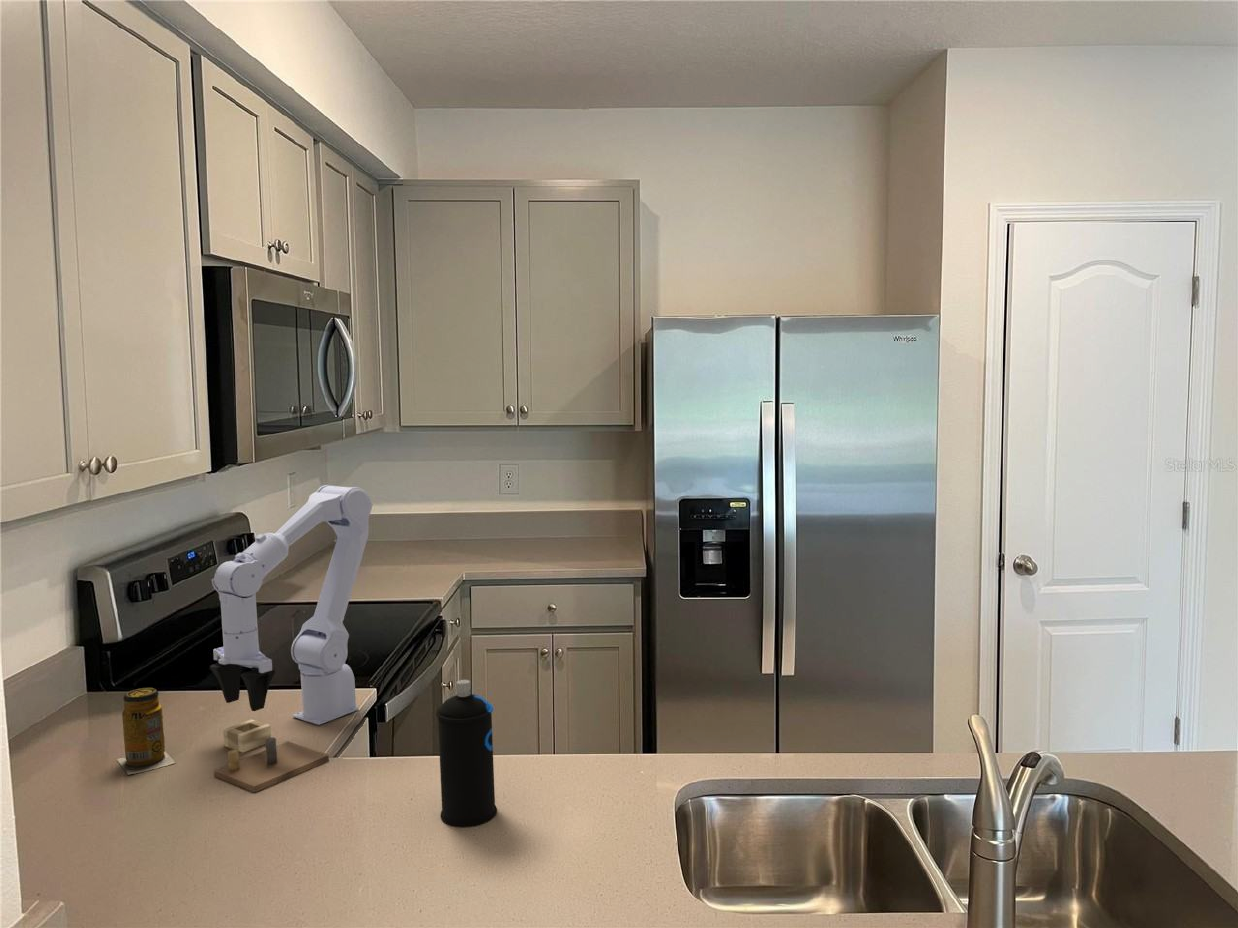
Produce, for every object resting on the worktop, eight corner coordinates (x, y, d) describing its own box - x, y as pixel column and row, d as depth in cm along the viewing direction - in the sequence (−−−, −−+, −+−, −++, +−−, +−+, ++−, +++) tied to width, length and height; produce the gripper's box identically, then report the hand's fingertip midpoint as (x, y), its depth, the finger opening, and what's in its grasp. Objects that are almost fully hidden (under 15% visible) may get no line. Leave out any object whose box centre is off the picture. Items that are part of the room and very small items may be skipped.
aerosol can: (450, 832, 132) (444, 695, 130) (433, 809, 139) (427, 678, 137) (505, 818, 136) (500, 684, 134) (486, 796, 143) (481, 669, 141)
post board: (288, 746, 164) (286, 719, 163) (328, 760, 158) (327, 732, 157) (214, 776, 153) (212, 746, 152) (254, 792, 146) (252, 761, 146)
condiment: (162, 748, 165) (157, 682, 163) (175, 763, 158) (170, 694, 157) (116, 760, 160) (111, 692, 159) (128, 776, 154) (122, 705, 152)
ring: (252, 735, 170) (251, 719, 169) (271, 741, 166) (270, 725, 166) (224, 745, 165) (223, 729, 165) (242, 752, 162) (241, 735, 162)
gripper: (195, 629, 165) (200, 704, 166) (244, 641, 156) (248, 720, 158) (232, 620, 170) (236, 692, 172) (280, 631, 162) (285, 707, 163)
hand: (244, 705), depth 165 cm, fingers open, 7 cm apart
